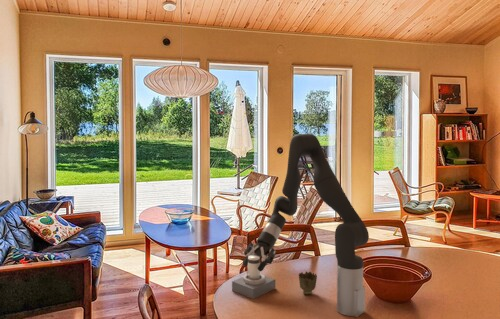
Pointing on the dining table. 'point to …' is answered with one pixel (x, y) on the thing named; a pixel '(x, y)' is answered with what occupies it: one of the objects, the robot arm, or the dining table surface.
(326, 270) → the dining table surface
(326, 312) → the dining table surface
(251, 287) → the square base with ring
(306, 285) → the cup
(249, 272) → the domed cylinder with band
